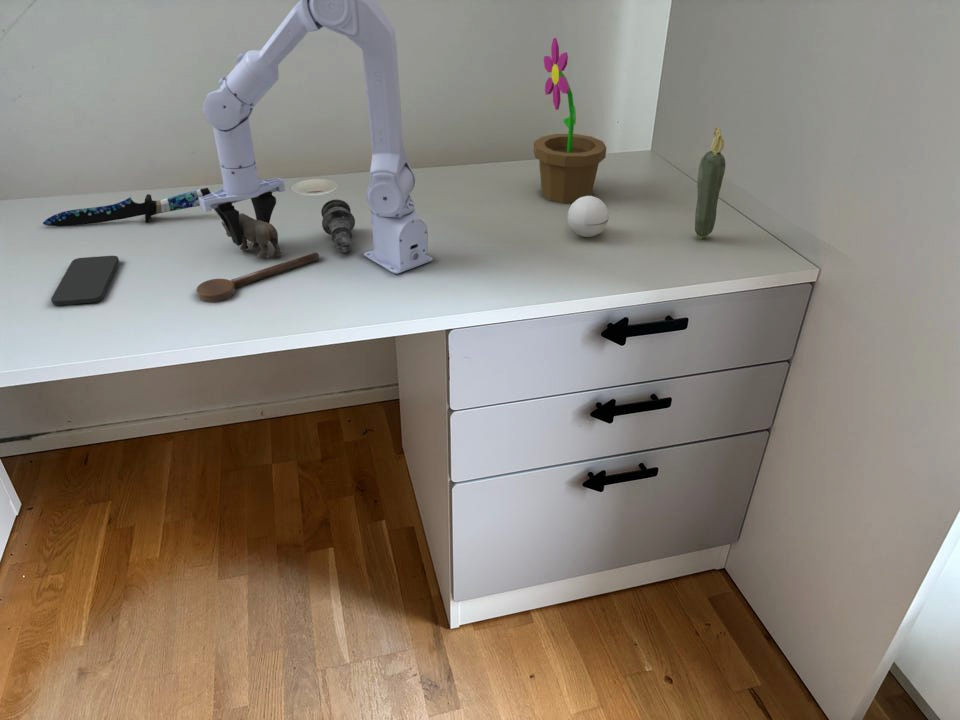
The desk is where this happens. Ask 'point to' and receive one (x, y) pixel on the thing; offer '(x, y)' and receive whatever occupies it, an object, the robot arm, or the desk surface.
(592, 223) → the white ball
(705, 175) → the vegetable
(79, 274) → the phone
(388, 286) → the desk surface
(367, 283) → the desk surface
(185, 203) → the knife
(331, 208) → the grey weathered turned ornament
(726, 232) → the desk surface
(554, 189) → the flowerpot
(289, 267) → the brown long-handled part
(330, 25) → the robot arm
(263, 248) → the rhino figurine
